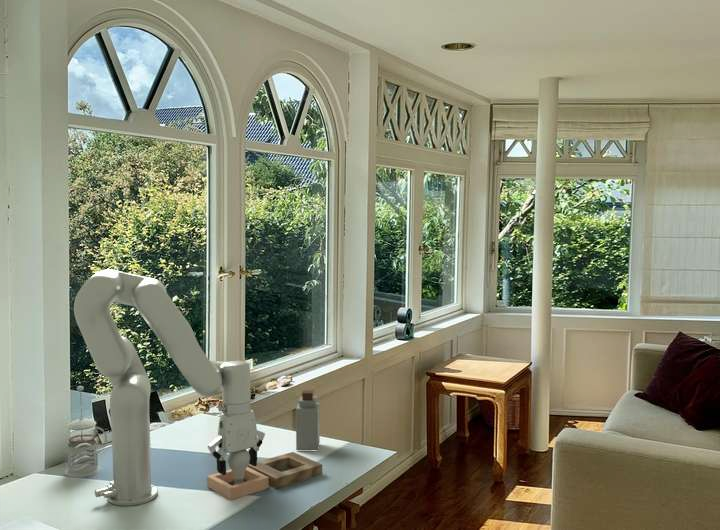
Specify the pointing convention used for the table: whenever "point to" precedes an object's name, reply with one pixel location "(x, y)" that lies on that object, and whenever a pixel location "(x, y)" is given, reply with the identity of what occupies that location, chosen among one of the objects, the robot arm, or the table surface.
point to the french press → (83, 448)
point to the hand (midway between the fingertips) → (237, 469)
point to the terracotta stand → (252, 484)
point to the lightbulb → (238, 464)
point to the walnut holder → (299, 472)
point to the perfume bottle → (307, 422)
